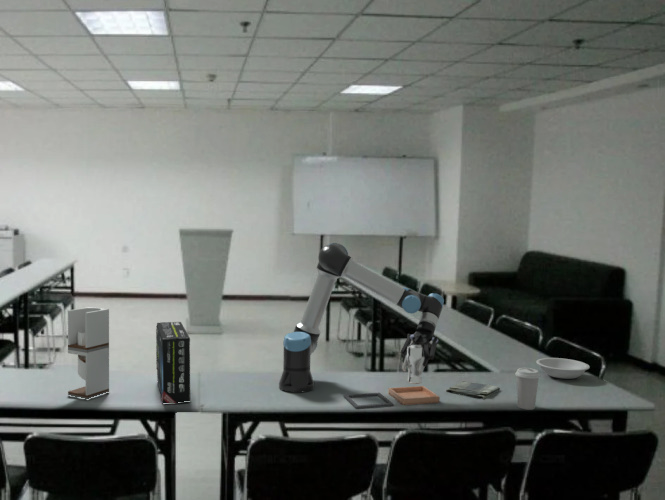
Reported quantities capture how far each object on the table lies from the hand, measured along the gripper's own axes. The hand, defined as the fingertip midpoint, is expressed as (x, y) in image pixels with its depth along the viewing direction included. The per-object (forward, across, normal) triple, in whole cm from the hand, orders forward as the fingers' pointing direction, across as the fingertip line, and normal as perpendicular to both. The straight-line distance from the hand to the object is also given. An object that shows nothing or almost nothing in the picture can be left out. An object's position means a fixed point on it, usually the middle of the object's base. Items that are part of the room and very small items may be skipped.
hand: (411, 370), depth 258 cm
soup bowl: (-44, -46, -62) cm, 89 cm away
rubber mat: (+16, +14, -1) cm, 22 cm away
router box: (+40, +89, +23) cm, 100 cm away
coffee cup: (-3, -43, -21) cm, 48 cm away
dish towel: (-10, -18, -29) cm, 35 cm away
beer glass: (+1, 0, -6) cm, 7 cm away
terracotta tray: (+6, 0, -11) cm, 13 cm away
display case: (+55, +114, +39) cm, 132 cm away
